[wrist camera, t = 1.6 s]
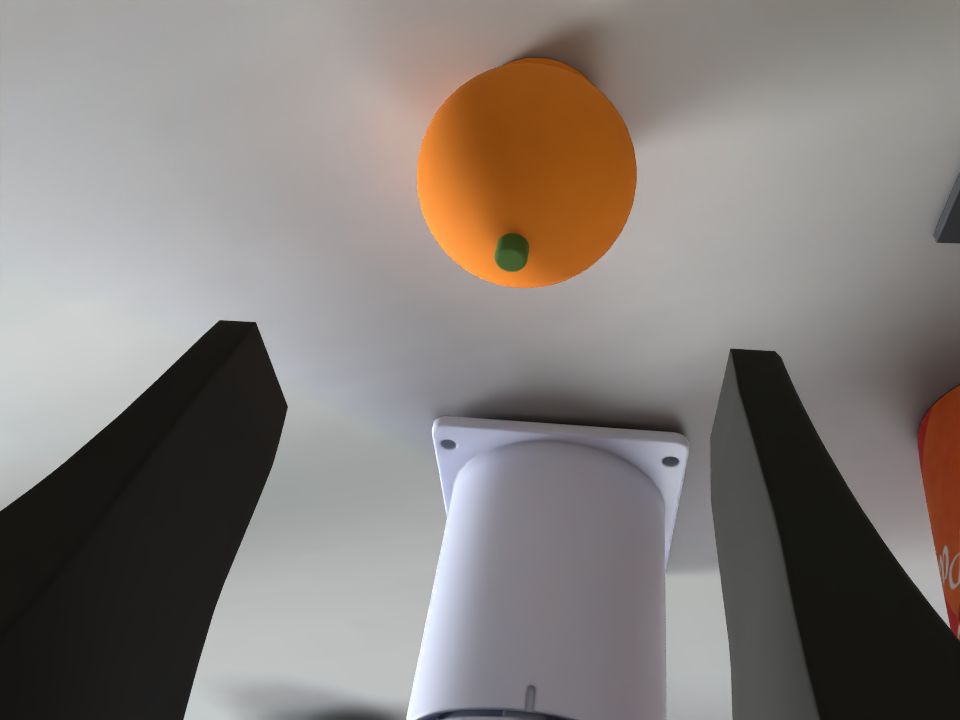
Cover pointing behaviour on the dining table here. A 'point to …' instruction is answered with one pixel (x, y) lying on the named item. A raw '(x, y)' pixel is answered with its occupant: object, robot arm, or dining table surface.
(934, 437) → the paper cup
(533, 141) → the clementine
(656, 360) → the dining table surface
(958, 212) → the felt pad
